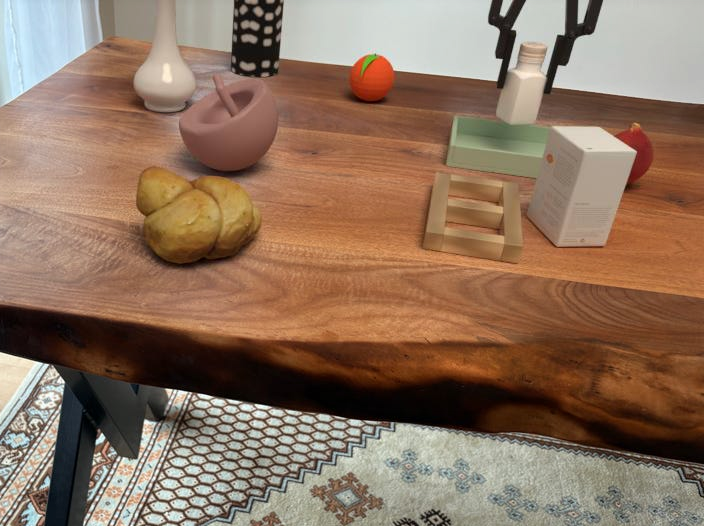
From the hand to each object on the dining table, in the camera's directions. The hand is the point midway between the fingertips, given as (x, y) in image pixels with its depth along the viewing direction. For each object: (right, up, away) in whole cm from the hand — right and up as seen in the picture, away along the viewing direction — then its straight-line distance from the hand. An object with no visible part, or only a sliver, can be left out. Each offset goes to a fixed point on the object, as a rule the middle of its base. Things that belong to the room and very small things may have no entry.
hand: (523, 88), depth 98 cm
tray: (0, -7, +5) cm, 9 cm away
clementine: (-16, +6, +24) cm, 29 cm away
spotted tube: (-33, +16, +36) cm, 51 cm away
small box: (-1, -21, -13) cm, 25 cm away
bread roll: (-40, -24, -20) cm, 51 cm away
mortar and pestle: (-38, -11, -2) cm, 40 cm away
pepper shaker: (0, -4, +3) cm, 4 cm away
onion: (+11, -13, -2) cm, 17 cm away
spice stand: (-11, -19, -13) cm, 25 cm away
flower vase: (-47, +3, +18) cm, 50 cm away
